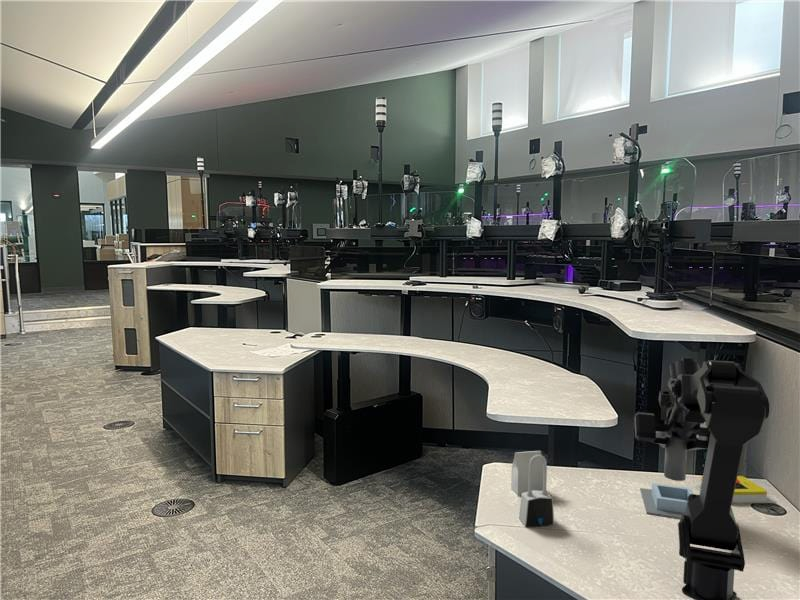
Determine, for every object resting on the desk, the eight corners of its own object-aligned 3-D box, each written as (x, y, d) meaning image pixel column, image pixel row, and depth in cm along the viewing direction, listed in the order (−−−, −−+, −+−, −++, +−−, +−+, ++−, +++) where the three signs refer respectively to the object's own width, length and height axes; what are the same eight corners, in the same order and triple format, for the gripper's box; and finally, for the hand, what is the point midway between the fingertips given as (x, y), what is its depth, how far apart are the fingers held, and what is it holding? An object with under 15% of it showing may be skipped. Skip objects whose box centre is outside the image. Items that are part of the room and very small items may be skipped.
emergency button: (693, 471, 131) (751, 470, 131) (692, 488, 131) (750, 487, 132) (716, 487, 122) (778, 487, 122) (715, 505, 122) (777, 504, 122)
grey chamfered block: (543, 493, 127) (544, 453, 126) (517, 495, 125) (518, 455, 124) (536, 486, 130) (537, 448, 129) (511, 489, 129) (512, 450, 128)
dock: (712, 523, 112) (713, 510, 112) (646, 513, 117) (647, 500, 116) (699, 497, 125) (699, 485, 125) (640, 489, 129) (640, 477, 129)
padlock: (546, 515, 115) (548, 450, 114) (555, 525, 111) (557, 457, 110) (518, 518, 114) (519, 452, 113) (525, 528, 110) (527, 459, 109)
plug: (689, 480, 118) (692, 426, 117) (672, 481, 118) (675, 427, 117) (676, 472, 123) (679, 420, 122) (659, 473, 122) (662, 421, 121)
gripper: (731, 385, 112) (715, 420, 123) (637, 378, 118) (630, 412, 129) (740, 432, 105) (722, 465, 116) (639, 422, 111) (632, 454, 122)
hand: (675, 447), depth 121 cm, fingers closed on plug, 4 cm apart
